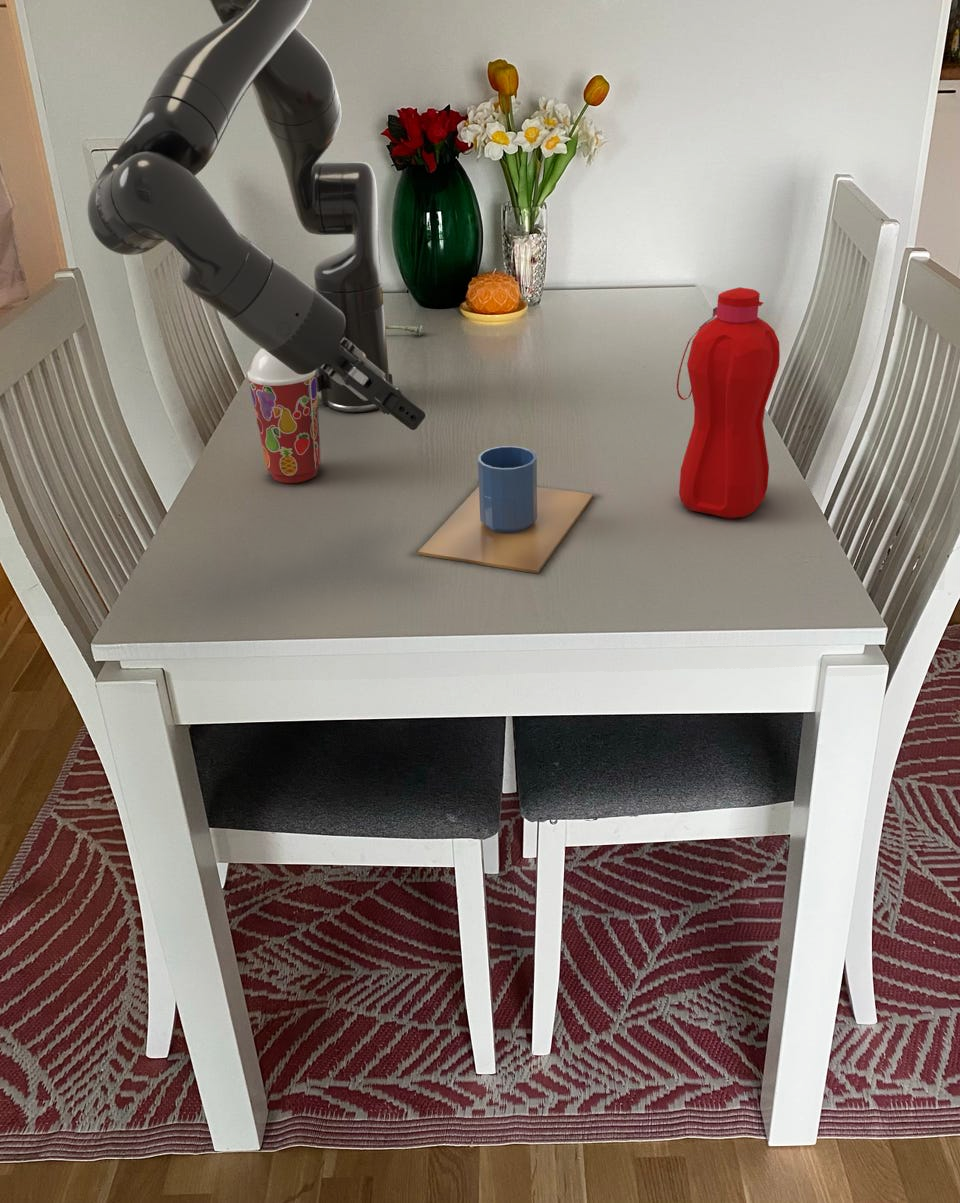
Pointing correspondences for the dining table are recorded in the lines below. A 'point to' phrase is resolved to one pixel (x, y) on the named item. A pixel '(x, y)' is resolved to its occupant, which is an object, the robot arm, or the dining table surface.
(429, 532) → the dining table surface
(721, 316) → the water bottle
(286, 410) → the smoothie
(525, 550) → the mat
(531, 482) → the blue plastic tumbler
